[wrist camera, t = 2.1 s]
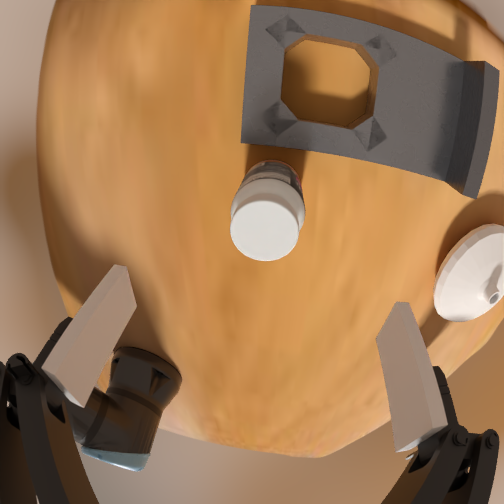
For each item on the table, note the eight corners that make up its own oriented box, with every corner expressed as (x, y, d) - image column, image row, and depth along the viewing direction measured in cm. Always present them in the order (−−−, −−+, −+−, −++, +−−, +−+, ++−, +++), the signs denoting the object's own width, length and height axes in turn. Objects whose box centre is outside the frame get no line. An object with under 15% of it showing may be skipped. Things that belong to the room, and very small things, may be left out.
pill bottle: (300, 212, 28) (305, 269, 19) (244, 211, 28) (226, 266, 20) (301, 158, 25) (310, 194, 16) (242, 158, 25) (218, 193, 17)
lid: (513, 203, 22) (543, 229, 16) (498, 290, 30) (517, 319, 24) (426, 229, 27) (453, 264, 21) (423, 319, 34) (437, 355, 28)
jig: (244, 138, 24) (233, 150, 19) (254, 12, 17) (245, -9, 12) (447, 178, 23) (476, 199, 18) (465, 69, 16) (499, 70, 11)
